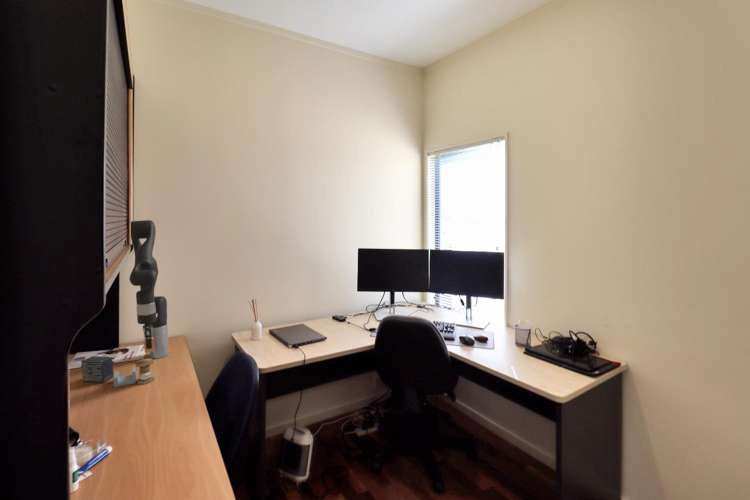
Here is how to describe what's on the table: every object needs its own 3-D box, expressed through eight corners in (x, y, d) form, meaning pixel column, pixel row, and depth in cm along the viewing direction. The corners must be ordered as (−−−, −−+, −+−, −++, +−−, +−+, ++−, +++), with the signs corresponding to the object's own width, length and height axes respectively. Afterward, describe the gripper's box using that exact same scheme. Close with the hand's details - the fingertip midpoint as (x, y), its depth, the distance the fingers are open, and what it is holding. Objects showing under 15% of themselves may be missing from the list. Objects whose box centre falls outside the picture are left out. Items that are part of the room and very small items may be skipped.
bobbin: (137, 379, 171) (135, 360, 169) (154, 375, 174) (153, 357, 173) (136, 385, 165) (135, 366, 163) (154, 381, 168) (153, 362, 167)
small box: (114, 376, 173) (112, 356, 172) (103, 383, 167) (101, 362, 165) (94, 375, 174) (92, 355, 173) (82, 382, 168) (80, 361, 166)
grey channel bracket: (115, 380, 170) (114, 371, 169) (136, 375, 174) (136, 367, 174) (114, 387, 163) (113, 378, 163) (136, 382, 167) (135, 373, 167)
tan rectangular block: (144, 350, 170) (143, 338, 169) (154, 348, 172) (153, 336, 171) (144, 352, 167) (143, 340, 166) (154, 350, 169) (153, 338, 168)
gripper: (136, 309, 171) (139, 344, 173) (136, 317, 159) (139, 354, 161) (155, 307, 175) (157, 341, 177) (156, 314, 163) (159, 350, 165)
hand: (149, 347), depth 169 cm, fingers closed on tan rectangular block, 2 cm apart
